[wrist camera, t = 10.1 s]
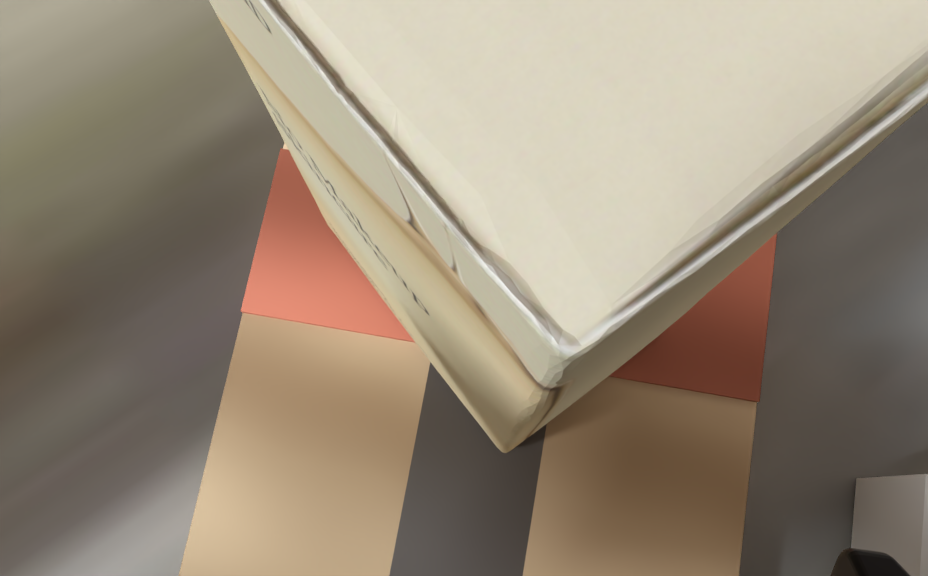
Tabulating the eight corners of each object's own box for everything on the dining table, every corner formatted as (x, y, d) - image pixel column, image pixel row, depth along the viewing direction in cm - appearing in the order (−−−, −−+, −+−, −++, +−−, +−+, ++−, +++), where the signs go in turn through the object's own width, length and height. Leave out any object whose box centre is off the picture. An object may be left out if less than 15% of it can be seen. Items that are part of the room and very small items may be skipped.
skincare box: (323, 224, 18) (14, -280, 7) (492, 101, 19) (487, -570, 7) (510, 468, 17) (548, 392, 5) (685, 329, 18) (1080, -25, 6)
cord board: (677, 987, 16) (693, 1030, 15) (128, 863, 17) (97, 894, 16) (770, 133, 20) (789, 107, 19) (320, 65, 21) (308, 35, 19)
